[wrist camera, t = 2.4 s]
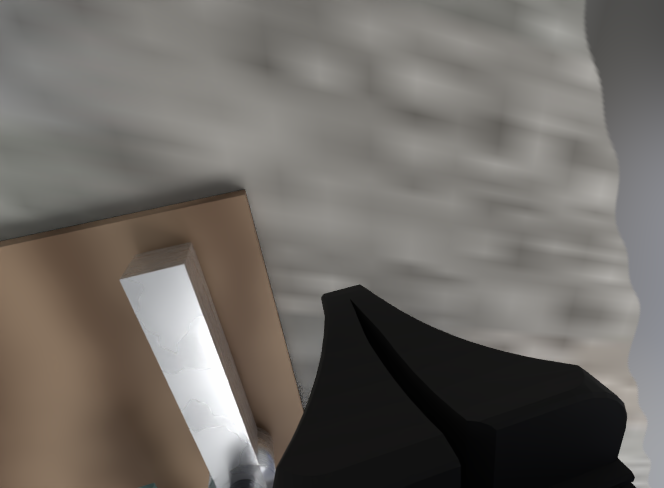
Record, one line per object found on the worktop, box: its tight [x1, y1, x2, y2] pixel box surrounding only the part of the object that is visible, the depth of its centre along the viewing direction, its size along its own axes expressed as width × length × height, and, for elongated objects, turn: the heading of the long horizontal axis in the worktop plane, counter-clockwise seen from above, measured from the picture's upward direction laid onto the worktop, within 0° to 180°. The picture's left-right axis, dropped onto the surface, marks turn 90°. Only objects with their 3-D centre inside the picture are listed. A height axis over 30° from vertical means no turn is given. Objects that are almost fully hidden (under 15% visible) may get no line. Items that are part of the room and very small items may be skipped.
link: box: [119, 242, 276, 488], centre depth 17 cm, size 15×4×5 cm, turn 9°
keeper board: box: [0, 189, 304, 488], centre depth 18 cm, size 18×25×5 cm
